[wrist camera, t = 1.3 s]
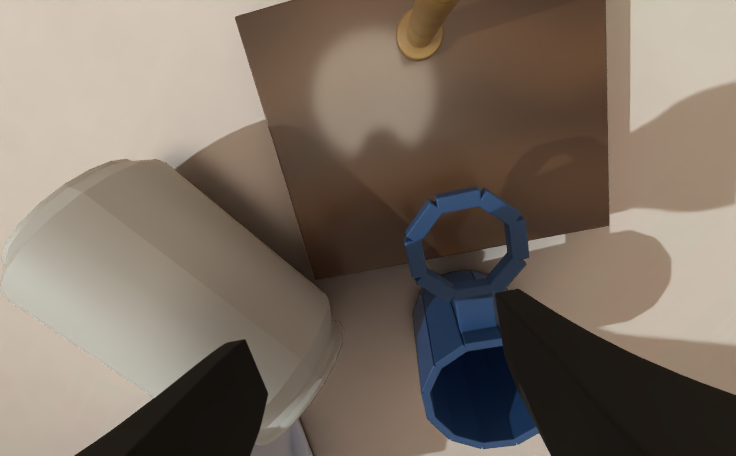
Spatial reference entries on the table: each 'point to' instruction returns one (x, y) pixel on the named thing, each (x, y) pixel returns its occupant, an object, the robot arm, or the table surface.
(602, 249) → the table surface
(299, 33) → the peg stand
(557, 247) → the table surface
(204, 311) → the can
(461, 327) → the cup
